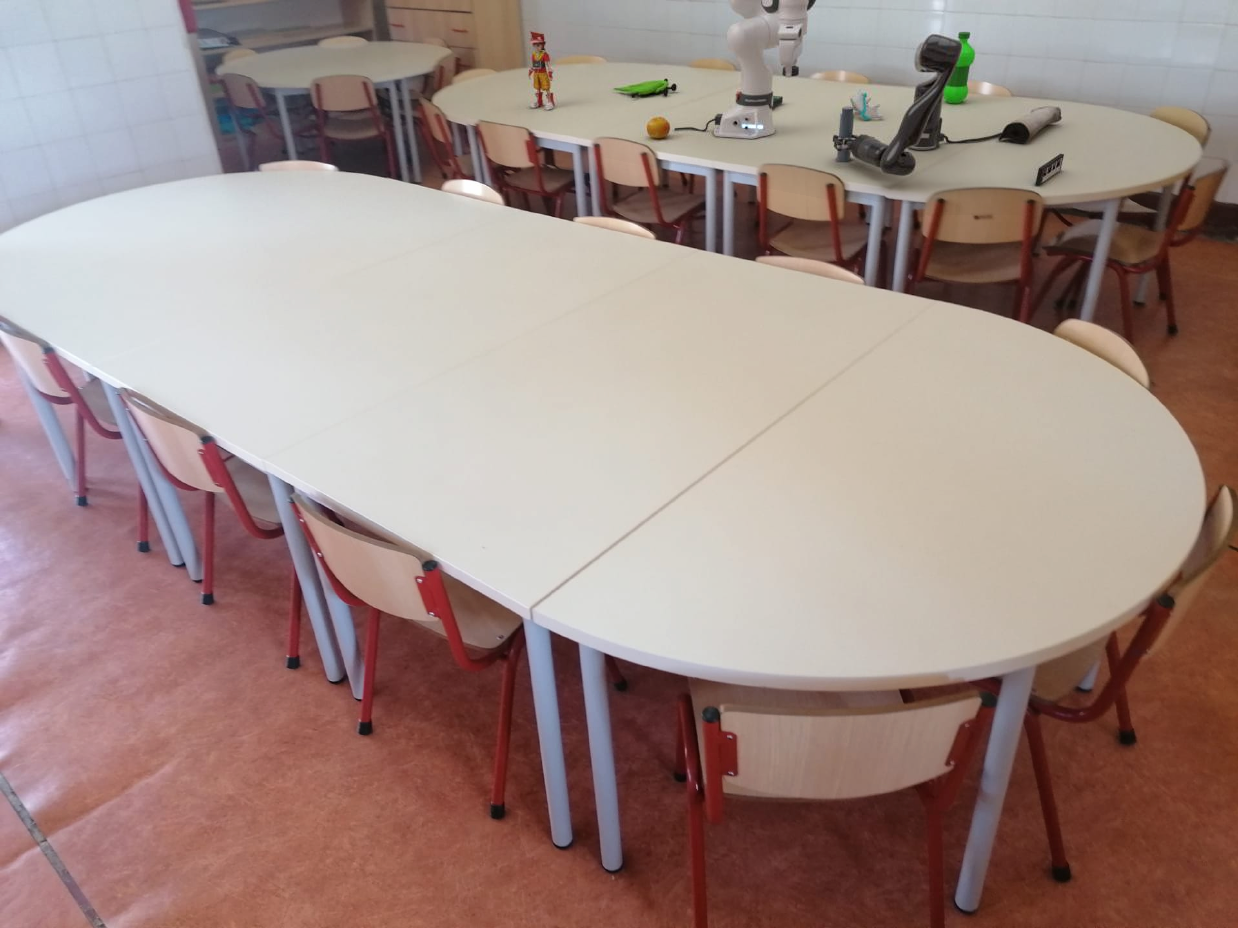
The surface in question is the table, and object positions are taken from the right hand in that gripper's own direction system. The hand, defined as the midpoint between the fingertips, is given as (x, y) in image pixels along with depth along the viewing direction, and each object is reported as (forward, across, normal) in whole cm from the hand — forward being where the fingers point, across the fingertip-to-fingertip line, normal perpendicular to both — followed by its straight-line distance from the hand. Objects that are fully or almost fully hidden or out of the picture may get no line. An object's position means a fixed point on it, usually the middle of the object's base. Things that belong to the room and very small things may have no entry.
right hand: (840, 137), depth 299 cm
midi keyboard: (-49, -44, +7) cm, 66 cm away
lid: (+8, +16, -22) cm, 28 cm away
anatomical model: (+42, -36, +7) cm, 55 cm away
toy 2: (+127, +25, +7) cm, 130 cm away
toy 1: (+123, +71, +7) cm, 143 cm away
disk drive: (+76, -9, +7) cm, 76 cm away
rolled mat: (-6, -72, +7) cm, 73 cm away
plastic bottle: (+43, -76, +7) cm, 88 cm away
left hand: (+8, +16, -20) cm, 27 cm away
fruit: (+54, +45, +7) cm, 71 cm away
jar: (-3, 0, +7) cm, 7 cm away
